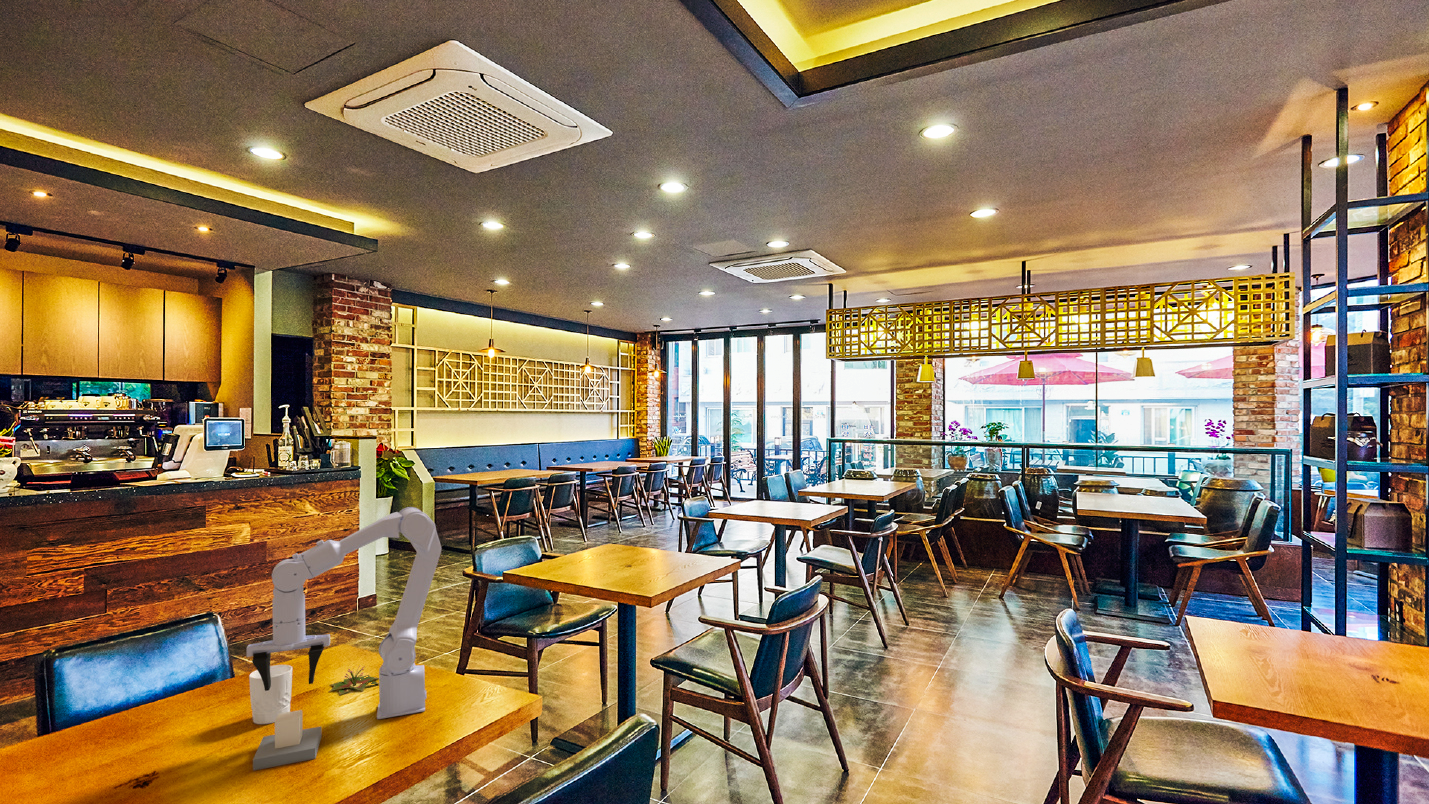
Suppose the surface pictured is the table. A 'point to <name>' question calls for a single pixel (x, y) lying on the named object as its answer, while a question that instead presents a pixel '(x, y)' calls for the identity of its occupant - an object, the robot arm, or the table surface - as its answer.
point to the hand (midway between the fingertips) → (289, 685)
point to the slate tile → (287, 750)
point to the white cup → (271, 694)
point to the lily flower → (353, 682)
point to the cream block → (288, 729)
